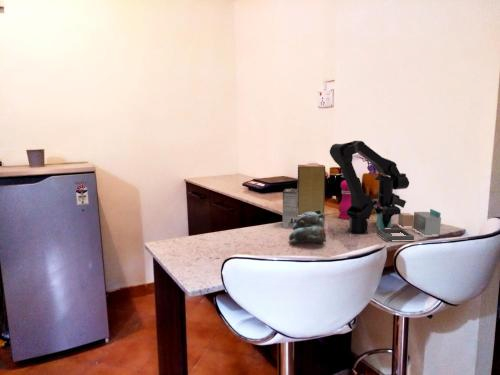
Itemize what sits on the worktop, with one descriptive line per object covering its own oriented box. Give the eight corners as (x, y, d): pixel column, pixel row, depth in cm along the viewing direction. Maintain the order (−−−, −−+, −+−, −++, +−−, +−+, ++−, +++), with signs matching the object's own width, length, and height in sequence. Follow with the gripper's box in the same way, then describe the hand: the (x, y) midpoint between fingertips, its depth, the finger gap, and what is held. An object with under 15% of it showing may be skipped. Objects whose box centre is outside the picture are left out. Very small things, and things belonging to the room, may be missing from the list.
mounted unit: (424, 237, 144) (426, 214, 143) (412, 230, 154) (414, 208, 153) (440, 237, 145) (442, 213, 143) (427, 230, 154) (429, 208, 153)
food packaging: (322, 212, 187) (324, 164, 183) (324, 217, 178) (326, 166, 174) (296, 212, 188) (297, 164, 184) (297, 216, 179) (298, 166, 175)
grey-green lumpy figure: (281, 243, 138) (283, 208, 142) (301, 249, 145) (302, 215, 150) (314, 239, 127) (315, 202, 132) (333, 246, 135) (333, 210, 140)
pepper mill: (353, 216, 179) (355, 176, 176) (353, 220, 172) (355, 178, 169) (338, 215, 181) (339, 175, 178) (337, 219, 174) (339, 177, 171)
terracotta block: (402, 228, 157) (403, 215, 156) (397, 226, 161) (398, 212, 160) (412, 228, 157) (413, 215, 156) (407, 225, 162) (408, 212, 161)
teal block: (380, 229, 156) (381, 216, 155) (376, 226, 160) (377, 213, 159) (390, 229, 156) (391, 216, 155) (386, 226, 160) (387, 213, 159)
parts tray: (386, 241, 139) (387, 236, 139) (376, 234, 149) (377, 228, 149) (413, 241, 139) (414, 236, 139) (401, 233, 149) (402, 228, 149)
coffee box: (284, 222, 168) (284, 188, 165) (298, 223, 167) (299, 188, 164) (282, 227, 159) (282, 191, 157) (296, 228, 158) (297, 192, 155)
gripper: (414, 194, 146) (411, 231, 149) (395, 186, 165) (393, 220, 167) (387, 194, 146) (385, 232, 149) (370, 187, 164) (369, 220, 167)
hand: (383, 225), depth 158 cm, fingers closed on teal block, 4 cm apart
